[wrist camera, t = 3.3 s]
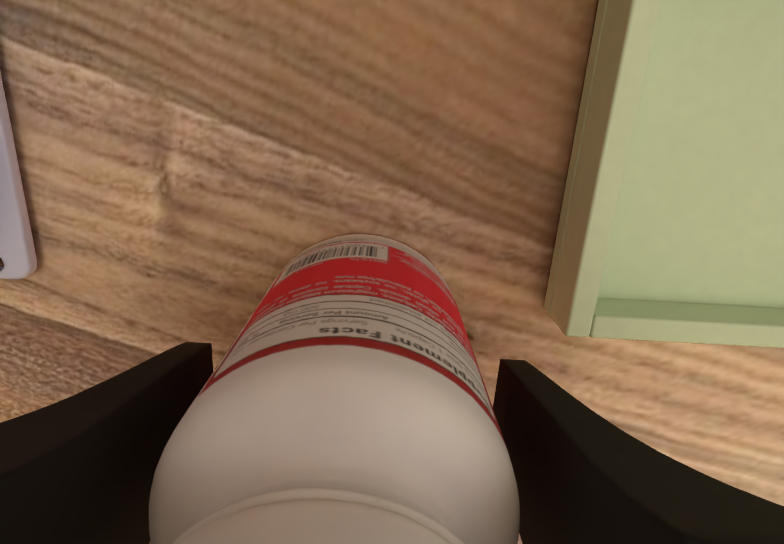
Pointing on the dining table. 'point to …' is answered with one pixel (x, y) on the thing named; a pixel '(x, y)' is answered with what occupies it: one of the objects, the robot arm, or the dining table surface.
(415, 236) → the dining table surface
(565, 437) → the robot arm
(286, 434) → the pill bottle
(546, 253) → the dining table surface
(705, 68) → the shallow green square tray
